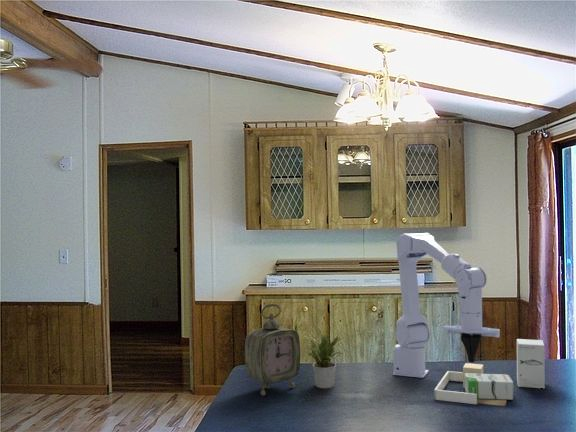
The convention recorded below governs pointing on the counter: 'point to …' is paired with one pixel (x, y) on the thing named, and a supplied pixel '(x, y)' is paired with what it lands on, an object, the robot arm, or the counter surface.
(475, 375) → the ink box
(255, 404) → the counter surface
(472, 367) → the kraft carton
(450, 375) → the tray
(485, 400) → the cork mat
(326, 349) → the house plant
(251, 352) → the tabletop clock
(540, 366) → the supplement box
